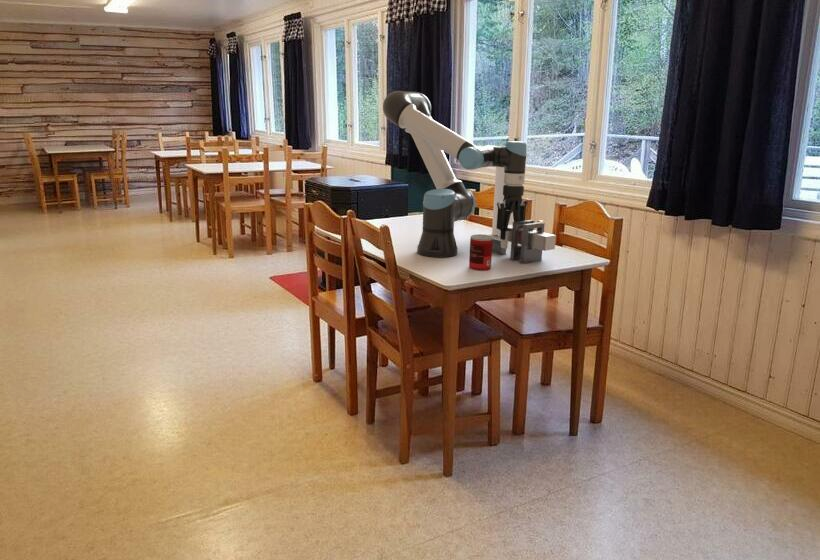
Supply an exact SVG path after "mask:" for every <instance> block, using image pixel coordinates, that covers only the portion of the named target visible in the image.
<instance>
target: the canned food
mask: <svg viewBox="0 0 820 560" xmlns="http://www.w3.org/2000/svg"><path fill="white" fill-rule="evenodd" d="M469 240H470V241H469V259H468V266H469V268H470V269H471V270H474V271H489V270H490V269H491V268H492V258H493V252H492V246H493V235H492V236H491V235H489V234H472V235H470V239H469Z"/></svg>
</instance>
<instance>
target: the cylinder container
mask: <svg viewBox="0 0 820 560" xmlns="http://www.w3.org/2000/svg"><path fill="white" fill-rule="evenodd" d="M494 177H495V181H494V195H493V197H494V198H493V210H492V211H493V212H492V214H493V215H492V227H491V229H492V230H491V235H492V234H494V235H499V236H500V235H501V231H500V230H499V229H497V214H498V207H497V203H498V202H499V203H501V202H503V199H504V195H503V186H504V185H505V184H504V183H503V182H504V167H495V176H494ZM508 211H509V210H508ZM513 222H514V219H513V212H512V213H511V215H510V219H509V223H508V225H513ZM494 235H493V236H494ZM499 236H498V237H499Z"/></svg>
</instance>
